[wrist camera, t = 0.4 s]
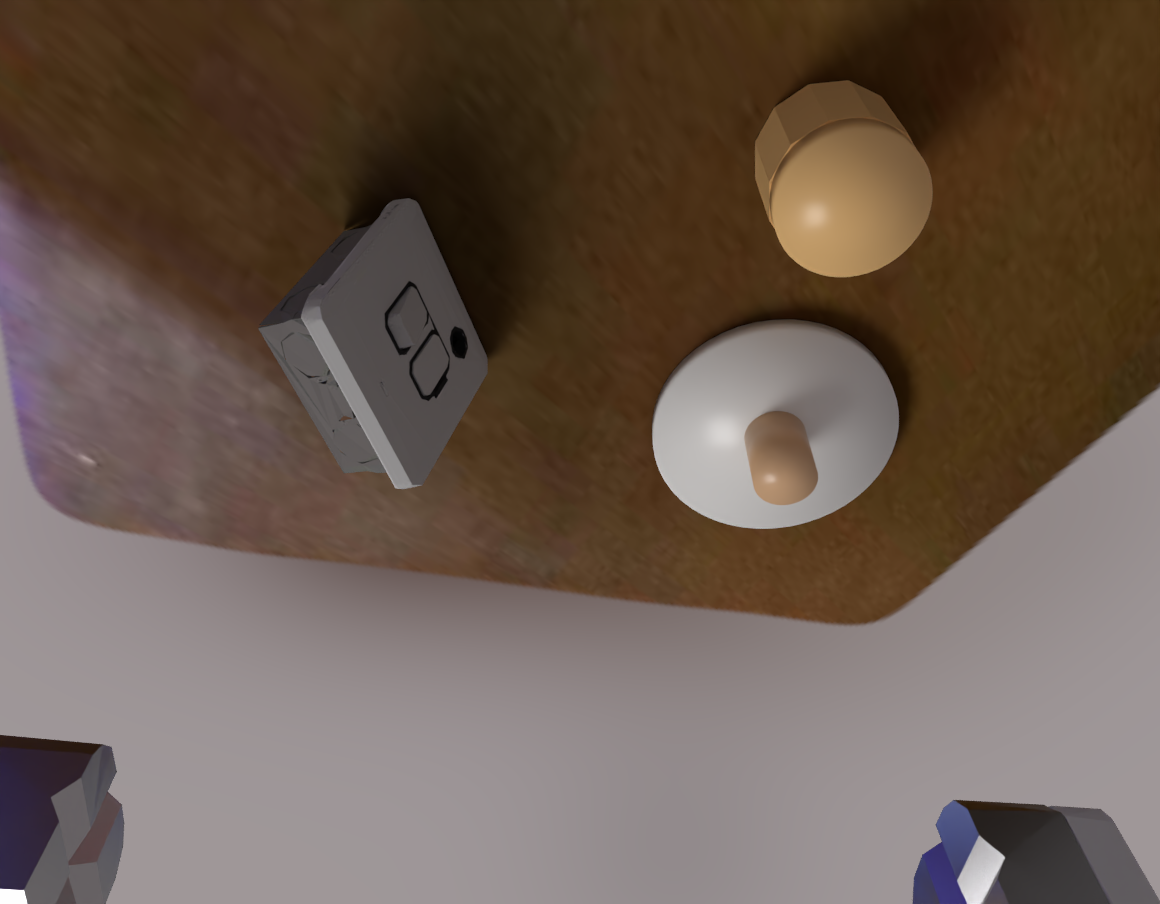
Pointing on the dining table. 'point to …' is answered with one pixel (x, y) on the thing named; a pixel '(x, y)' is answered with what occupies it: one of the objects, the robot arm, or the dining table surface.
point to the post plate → (762, 386)
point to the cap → (841, 179)
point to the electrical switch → (380, 347)
